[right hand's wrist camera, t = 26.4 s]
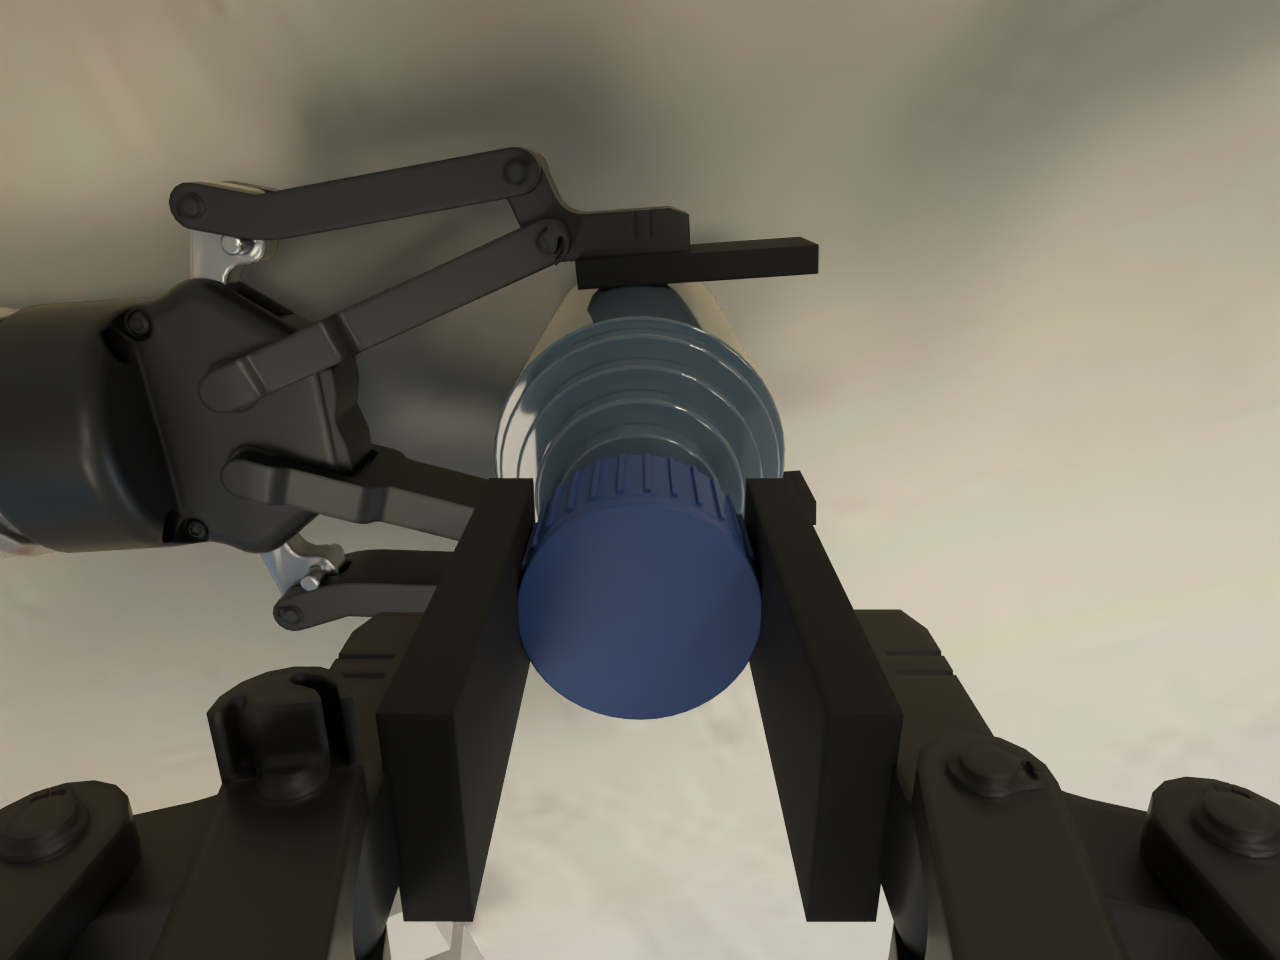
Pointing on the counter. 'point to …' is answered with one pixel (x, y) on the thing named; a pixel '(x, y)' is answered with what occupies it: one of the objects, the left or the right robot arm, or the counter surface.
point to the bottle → (639, 392)
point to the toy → (428, 939)
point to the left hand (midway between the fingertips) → (806, 381)
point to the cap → (639, 589)
